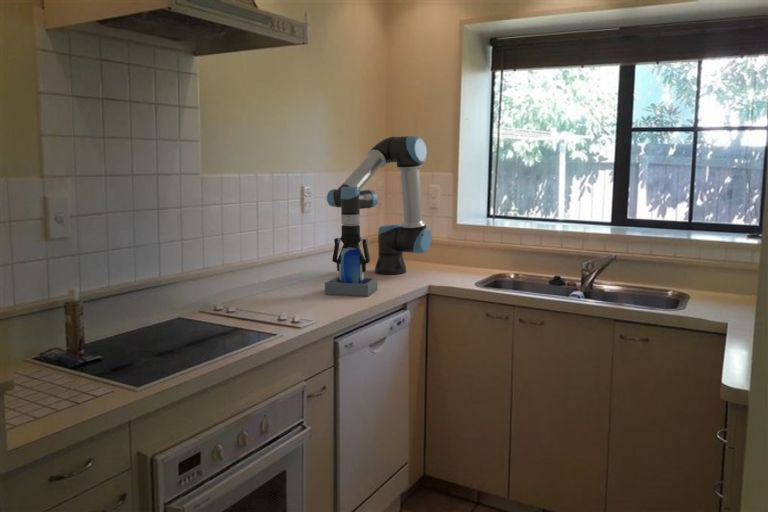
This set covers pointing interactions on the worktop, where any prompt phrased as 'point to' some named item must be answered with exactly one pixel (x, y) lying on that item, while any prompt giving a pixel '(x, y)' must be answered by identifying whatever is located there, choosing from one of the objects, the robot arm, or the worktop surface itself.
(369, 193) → the robot arm
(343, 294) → the caddy
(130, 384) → the worktop surface
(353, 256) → the beer can
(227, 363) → the worktop surface
